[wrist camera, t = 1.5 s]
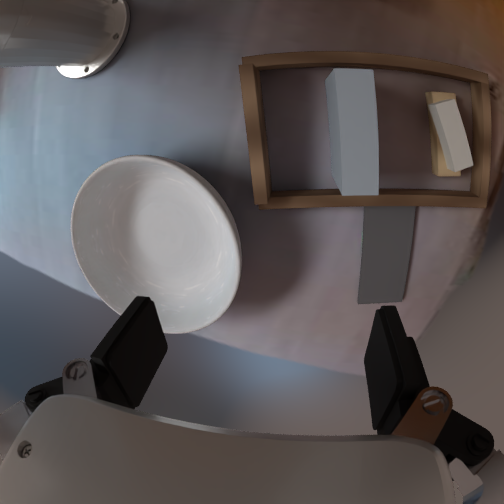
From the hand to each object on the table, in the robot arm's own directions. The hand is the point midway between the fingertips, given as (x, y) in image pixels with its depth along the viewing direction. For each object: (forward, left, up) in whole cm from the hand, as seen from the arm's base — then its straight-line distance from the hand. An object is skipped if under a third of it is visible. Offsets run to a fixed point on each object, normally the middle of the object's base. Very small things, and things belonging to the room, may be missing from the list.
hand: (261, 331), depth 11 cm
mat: (+8, +11, -21) cm, 25 cm away
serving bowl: (+4, -15, -22) cm, 26 cm away
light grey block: (-7, +6, -21) cm, 23 cm away
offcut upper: (-7, +18, -20) cm, 27 cm away
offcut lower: (-7, +18, -22) cm, 29 cm away
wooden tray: (-7, +10, -21) cm, 25 cm away
